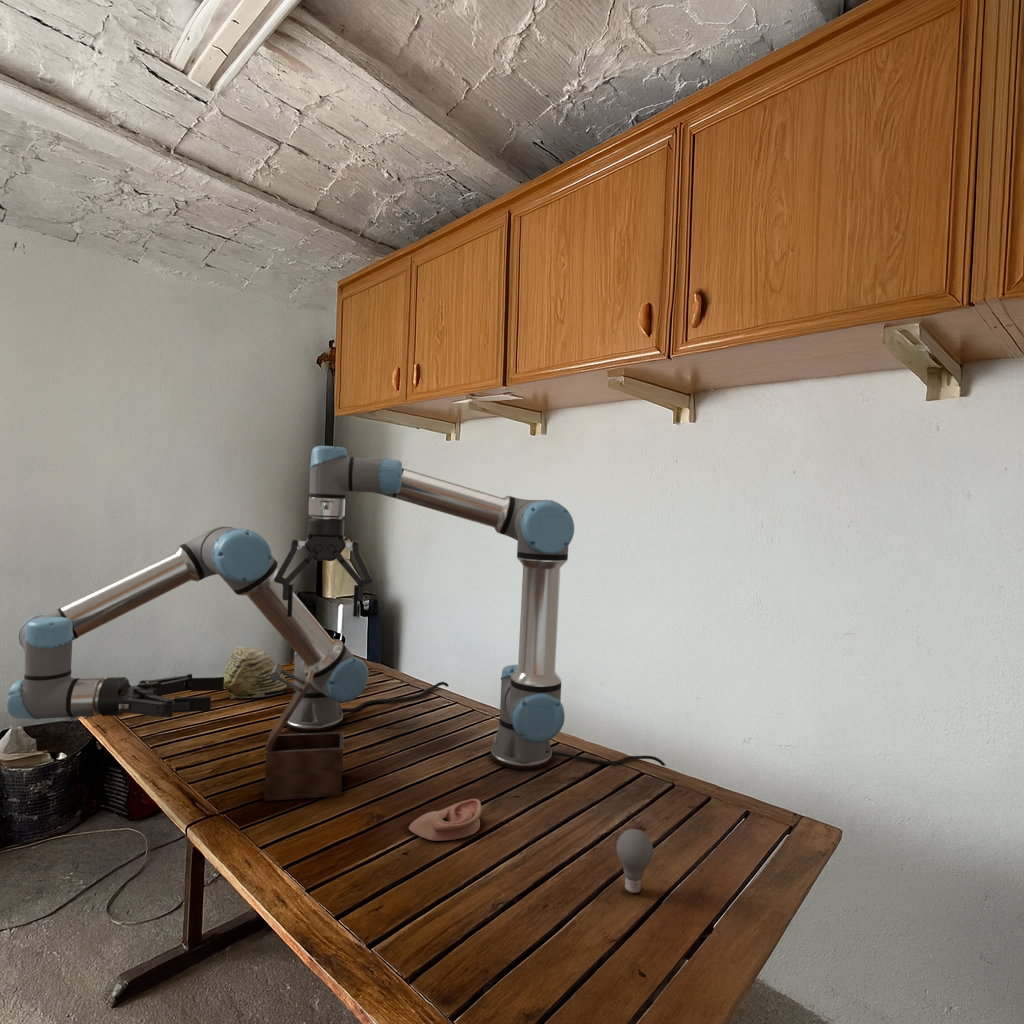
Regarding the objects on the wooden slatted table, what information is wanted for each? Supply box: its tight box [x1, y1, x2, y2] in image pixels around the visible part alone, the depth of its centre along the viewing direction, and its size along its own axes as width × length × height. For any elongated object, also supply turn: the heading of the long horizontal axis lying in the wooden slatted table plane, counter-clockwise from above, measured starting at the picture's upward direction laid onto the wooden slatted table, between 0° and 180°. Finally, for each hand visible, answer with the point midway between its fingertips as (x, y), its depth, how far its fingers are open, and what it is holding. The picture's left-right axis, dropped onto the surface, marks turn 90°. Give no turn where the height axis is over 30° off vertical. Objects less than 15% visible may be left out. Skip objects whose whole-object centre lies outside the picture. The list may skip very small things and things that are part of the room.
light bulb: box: [615, 828, 654, 894], centre depth 106 cm, size 6×6×10 cm
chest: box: [263, 731, 345, 802], centre depth 137 cm, size 15×10×10 cm, turn 104°
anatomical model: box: [408, 798, 482, 842], centre depth 124 cm, size 13×4×12 cm
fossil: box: [222, 646, 288, 699], centre depth 198 cm, size 9×18×15 cm, turn 132°
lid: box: [264, 663, 314, 752], centre depth 136 cm, size 16×10×8 cm
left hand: (217, 693), depth 133 cm, fingers open, 13 cm apart
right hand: (322, 615), depth 137 cm, fingers open, 13 cm apart
